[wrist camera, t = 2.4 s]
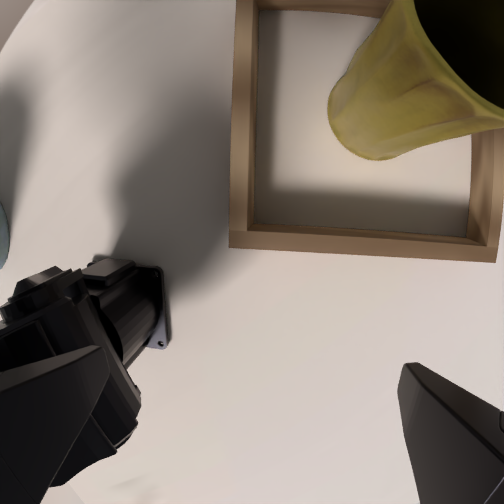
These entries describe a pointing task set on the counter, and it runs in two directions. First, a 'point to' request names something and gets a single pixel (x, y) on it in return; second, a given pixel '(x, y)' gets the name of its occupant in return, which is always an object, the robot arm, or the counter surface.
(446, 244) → the wooden frame
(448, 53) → the vase
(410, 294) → the counter surface
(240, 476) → the counter surface
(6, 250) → the grey-blue cup
